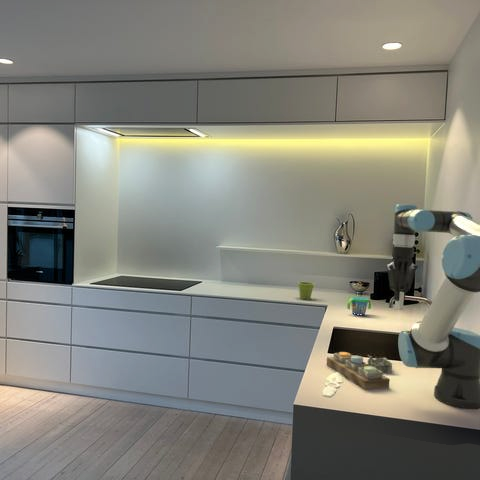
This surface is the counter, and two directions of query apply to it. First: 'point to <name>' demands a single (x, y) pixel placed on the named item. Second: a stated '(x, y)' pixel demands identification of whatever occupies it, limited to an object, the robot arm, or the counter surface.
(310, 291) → the plant pot
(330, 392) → the cream scalloped strip
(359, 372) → the wooden tray
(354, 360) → the slate button
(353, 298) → the snack cup
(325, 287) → the counter surface
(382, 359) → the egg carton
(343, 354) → the orange button
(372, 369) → the sage button
